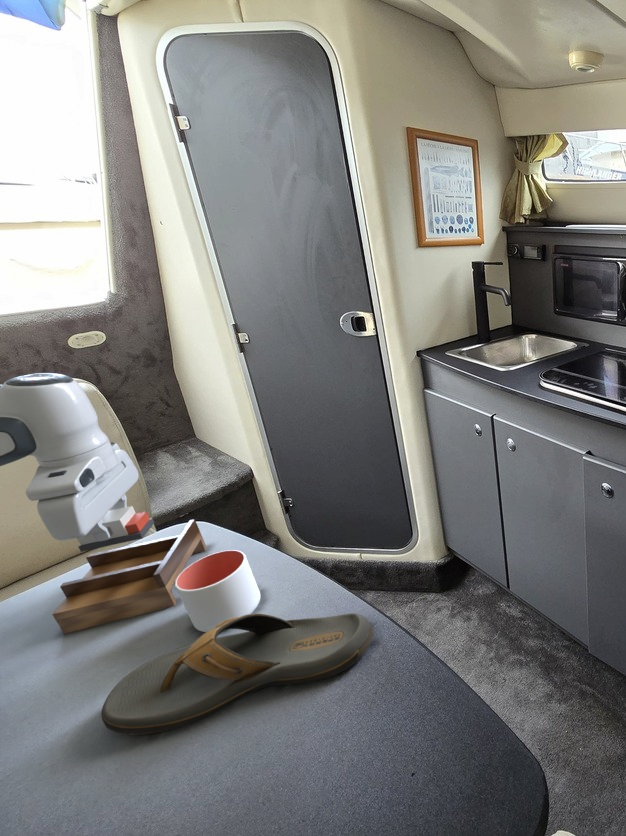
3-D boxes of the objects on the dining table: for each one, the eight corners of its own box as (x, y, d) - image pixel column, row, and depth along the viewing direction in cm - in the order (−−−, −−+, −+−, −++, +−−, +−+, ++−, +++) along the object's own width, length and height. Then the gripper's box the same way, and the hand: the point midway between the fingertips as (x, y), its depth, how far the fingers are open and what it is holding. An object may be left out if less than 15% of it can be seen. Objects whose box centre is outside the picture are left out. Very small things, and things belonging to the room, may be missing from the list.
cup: (209, 600, 92) (190, 557, 88) (269, 586, 94) (253, 544, 91) (184, 643, 83) (162, 597, 79) (252, 626, 86) (233, 582, 82)
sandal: (154, 663, 80) (131, 620, 76) (380, 615, 87) (368, 573, 83) (95, 752, 67) (64, 705, 63) (365, 687, 74) (350, 641, 71)
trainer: (80, 552, 87) (64, 523, 85) (96, 535, 92) (81, 507, 89) (142, 538, 90) (128, 510, 88) (154, 522, 94) (142, 495, 92)
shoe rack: (65, 636, 85) (43, 600, 83) (115, 571, 100) (98, 539, 97) (175, 607, 90) (159, 573, 87) (208, 549, 105) (195, 519, 102)
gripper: (91, 440, 93) (121, 502, 98) (17, 498, 75) (58, 569, 80) (132, 434, 95) (159, 494, 100) (69, 489, 77) (106, 559, 82)
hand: (114, 528), depth 90 cm, fingers closed on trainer, 4 cm apart
